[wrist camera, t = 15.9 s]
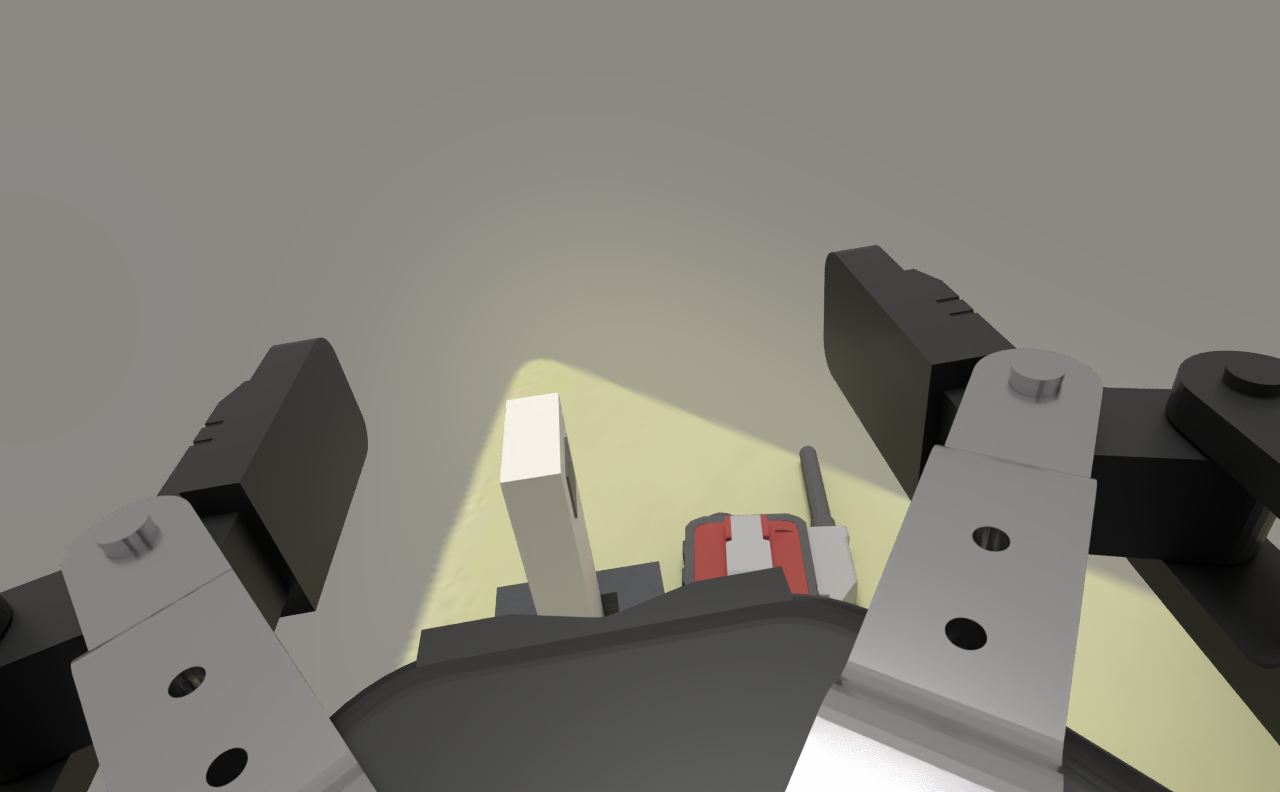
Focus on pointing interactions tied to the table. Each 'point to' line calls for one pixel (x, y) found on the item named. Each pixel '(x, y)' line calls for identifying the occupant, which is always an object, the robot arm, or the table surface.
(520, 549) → the white tall block
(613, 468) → the table surface
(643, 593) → the holder
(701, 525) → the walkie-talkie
